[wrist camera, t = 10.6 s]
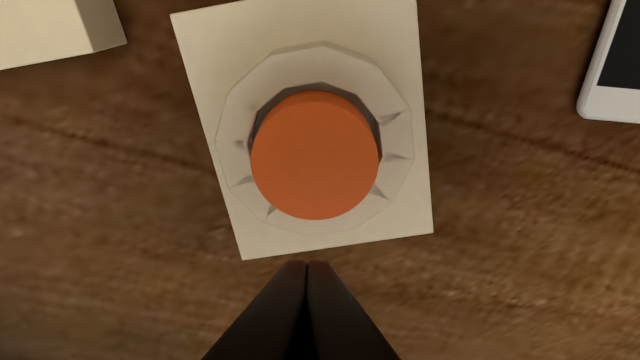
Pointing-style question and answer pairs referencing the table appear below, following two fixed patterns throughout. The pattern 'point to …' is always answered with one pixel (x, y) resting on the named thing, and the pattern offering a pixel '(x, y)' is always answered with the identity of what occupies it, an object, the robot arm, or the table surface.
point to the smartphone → (614, 68)
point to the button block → (302, 75)
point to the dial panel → (56, 30)
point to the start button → (314, 156)
